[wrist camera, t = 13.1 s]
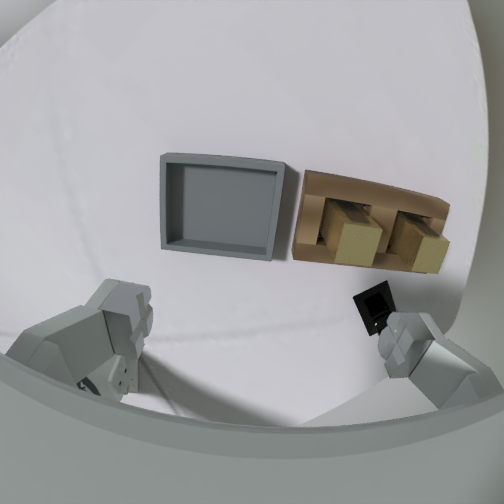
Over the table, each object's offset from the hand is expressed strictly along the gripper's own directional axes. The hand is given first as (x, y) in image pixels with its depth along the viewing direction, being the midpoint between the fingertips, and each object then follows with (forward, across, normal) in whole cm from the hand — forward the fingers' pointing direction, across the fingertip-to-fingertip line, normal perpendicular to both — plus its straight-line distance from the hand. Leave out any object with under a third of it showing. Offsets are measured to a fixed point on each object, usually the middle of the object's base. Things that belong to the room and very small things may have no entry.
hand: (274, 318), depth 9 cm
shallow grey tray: (+24, -4, -4) cm, 25 cm away
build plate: (+25, +20, -17) cm, 36 cm away
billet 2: (+24, +19, -3) cm, 30 cm away
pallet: (+24, +14, -3) cm, 28 cm away
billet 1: (+24, +10, -4) cm, 26 cm away
